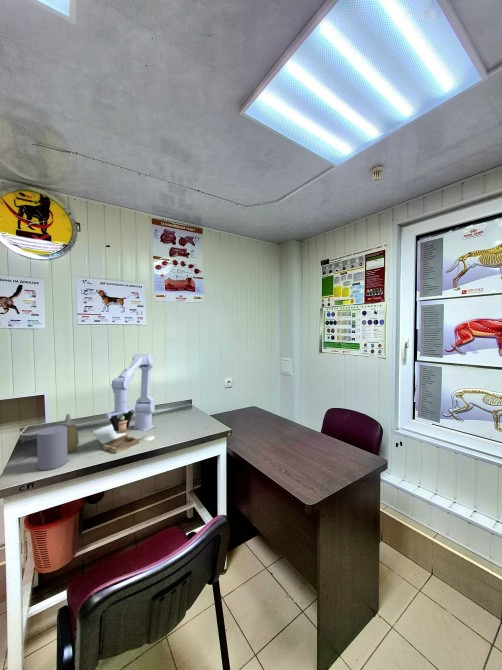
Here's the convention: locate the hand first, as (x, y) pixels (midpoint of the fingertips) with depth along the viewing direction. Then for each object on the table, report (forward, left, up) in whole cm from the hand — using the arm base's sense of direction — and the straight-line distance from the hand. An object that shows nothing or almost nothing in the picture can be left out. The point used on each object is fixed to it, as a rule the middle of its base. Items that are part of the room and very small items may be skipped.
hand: (121, 429), depth 131 cm
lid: (-9, 0, -3) cm, 10 cm away
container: (-11, -25, -9) cm, 29 cm away
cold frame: (-2, +1, -9) cm, 9 cm away
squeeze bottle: (-18, -15, -9) cm, 25 cm away
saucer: (+4, +12, -9) cm, 16 cm away
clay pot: (0, 0, -1) cm, 1 cm away
